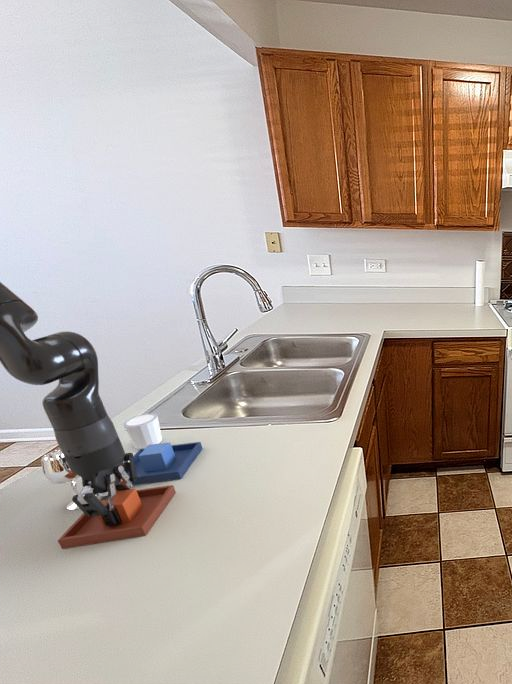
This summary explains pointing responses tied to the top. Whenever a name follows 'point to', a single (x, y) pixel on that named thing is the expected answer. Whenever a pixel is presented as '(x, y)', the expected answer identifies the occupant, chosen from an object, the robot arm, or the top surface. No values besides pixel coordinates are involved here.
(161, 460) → the blue block
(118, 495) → the rust block
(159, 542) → the top surface
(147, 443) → the white faceted cylinder
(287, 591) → the top surface
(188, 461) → the blue tray
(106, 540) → the terracotta tray
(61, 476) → the wineglass
